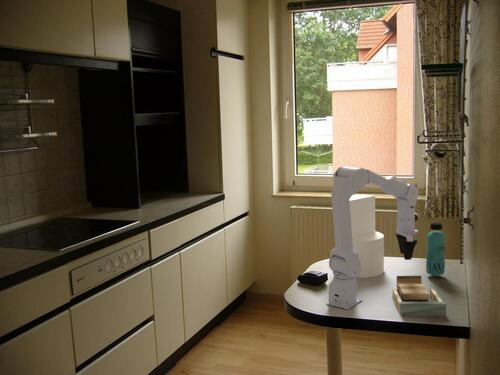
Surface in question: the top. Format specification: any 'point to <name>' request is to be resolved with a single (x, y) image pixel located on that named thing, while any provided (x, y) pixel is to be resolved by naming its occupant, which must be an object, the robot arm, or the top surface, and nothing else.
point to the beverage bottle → (435, 250)
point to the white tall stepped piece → (366, 235)
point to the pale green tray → (421, 306)
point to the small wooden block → (411, 288)
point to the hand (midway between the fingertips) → (405, 256)
